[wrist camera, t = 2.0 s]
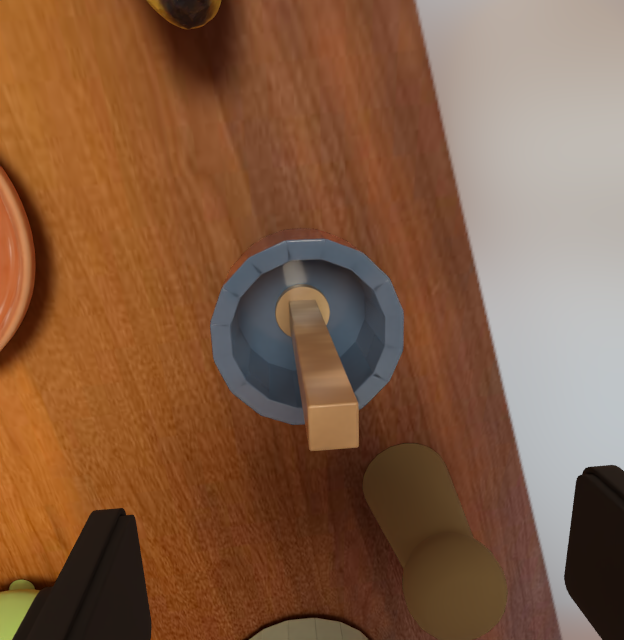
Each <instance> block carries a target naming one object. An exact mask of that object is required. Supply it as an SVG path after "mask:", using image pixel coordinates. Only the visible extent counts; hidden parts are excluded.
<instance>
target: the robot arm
mask: <svg viewBox="0 0 624 640" xmlns="http://www.w3.org/2000/svg"><path fill="white" fill-rule="evenodd" d="M564 580H565V585H566V588H567V590H568V593H569V595H570V596H571V598H572V599H573V600H574V602H575V603H576V604H577V606H578V607H579V608H580V610H581V611H582V612H583V614H584V615H585V617H586V618H587V619H588V621H589V622H590V623H591V625H592V626H593V627H594V629H595V630H596V631H597V633H598V634H599V636H600V637H601V638H602V640H624V471H623V470H622V469H620V468H619V467H617V466H614V465H608V466H597V467H596V466H595V467H588V468H585V470H584V471H583V474H582V475H580V476H578V478H577V481H576V487H575V495H574V503H573V511H572V519H571V527H570V536H569V544H568V551H567V559H566V567H565V575H564ZM150 638H151V617H150V610H149V604H148V597H147V591H146V584H145V578H144V571H143V565H142V558H141V552H140V545H139V539H138V533H137V526H136V520H135V517H134V515H126V512H125V510H124V509H123V508H118V509H107V510H96V511H93V512H92V513H91V514H90V516H89V518H88V520H87V522H86V524H85V526H84V528H83V530H82V532H81V534H80V536H79V538H78V539H77V541H76V543H75V545H74V547H73V549H72V551H71V553H70V555H69V557H68V559H67V561H66V563H65V565H64V567H63V569H62V571H61V572H60V574H59V576H58V578H57V580H56V582H55V584H54V586H53V587H44V588H43V589H42V590H40V591H39V593H38V594H37V595H36V597H35V598H34V600H33V602H32V604H31V606H30V608H29V609H28V611H27V613H26V615H25V617H24V619H23V620H22V622H21V624H20V626H19V628H18V630H17V631H16V633H15V635H14V637H13V639H12V640H150Z"/></svg>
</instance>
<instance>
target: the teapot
mask: <svg viewBox="0 0 624 640" xmlns="http://www.w3.org/2000/svg"><path fill="white" fill-rule="evenodd" d="M39 591H40V590H35V587H34V585H33V584H32V583H30V582H29V581H26V580H16V581H14V582H13V583H11V585H10V587H9V591H3V592H0V640H12V639H13V637H14V635H15V633H16V631H17V630H18V628H19V626H20V624H21V622H22V620H23V619H24V617H25V615H26V613H27V611H28V609H29V608H30V606H31V604H32V602H33V600H34V598H35V597H36V595H37V594H38V593H39Z"/></svg>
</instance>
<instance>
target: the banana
mask: <svg viewBox="0 0 624 640" xmlns="http://www.w3.org/2000/svg"><path fill="white" fill-rule="evenodd" d="M146 1H147V2H148V3H149V4H150V5H151V7H152V8H153V9H154V10H155V11H156V12H157V13H159V14H160V15H161V16H162V17H163V18H165V19H166V20H167V21H168V22H170V23H171V24H173V25H175V26H178V27H180V28H182V29H187V30H189V29H193V28H199V27H202V26H204V25H205V24H206V23H207V22H209V21H210V20H211V19H213V18H214V16H215V15H216V14H217V12H218V10H219V7H220V4H221V0H146Z"/></svg>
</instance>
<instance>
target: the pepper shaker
mask: <svg viewBox="0 0 624 640" xmlns="http://www.w3.org/2000/svg"><path fill="white" fill-rule="evenodd" d="M362 489H363V493H364V496H365V500H366V502H367V504H368V505H369V507H370V509H371V511H372V513H373V514H374V516H375V518H376V520H377V522H378V524H379V525H380V527H381V529H382V531H383V533H384V534H385V536H386V538H387V540H388V542H389V543H390V545H391V547H392V549H393V551H394V553H395V554H396V556H397V558H398V560H399V562H400V563H401V565H402V567H403V569H404V570H403V578H402V589H403V593H404V597H405V601H406V604H407V607H408V611H409V612H410V614H411V615H412V617H413V618H414V619H415V621H416V622H417V623H418V625H419V626H420V627H421V629H423V630H424V631H426V632H427V633H429V634H430V635H432V636H433V637H435V638H437V639H438V640H473V639H477V638H479V637H481V636H482V635H484V634H486V633H488V632H489V631H490V630H491V629H492V628H493V627H494V626H495V625H496V624H497V623H498V622H499V621H500V619H501V617H502V615H503V614H504V612H505V607H506V602H507V595H508V590H507V584H506V579H505V575H504V572H503V570H502V568H501V566H500V565H499V563H498V562H497V560H496V559H495V557H494V556H493V554H492V552H491V551H490V550H489V549H488V548H486V547H485V546H484V545H483V544H481V543H480V542H479V541H477V540H476V539H474V538H473V535H472V532H471V530H470V527H469V524H468V522H467V519H466V517H465V514H464V511H463V509H462V506H461V503H460V501H459V498H458V495H457V493H456V490H455V488H454V485H453V482H452V480H451V477H450V474H449V472H448V469H447V466H446V464H445V463H444V461H443V460H442V458H441V457H440V455H439V454H438V453H436V452H435V451H434V450H432V449H431V448H429V447H426V446H423V445H420V444H411V443H403V444H400V445H396V446H393V447H390V448H388V449H386V450H385V451H383V452H381V453H380V454H378V455H377V456H376V457H375V458H374V460H373V461H372V462H371V463H370V464H369V466H368V468H367V470H366V472H365V474H364V477H363V487H362Z"/></svg>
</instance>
